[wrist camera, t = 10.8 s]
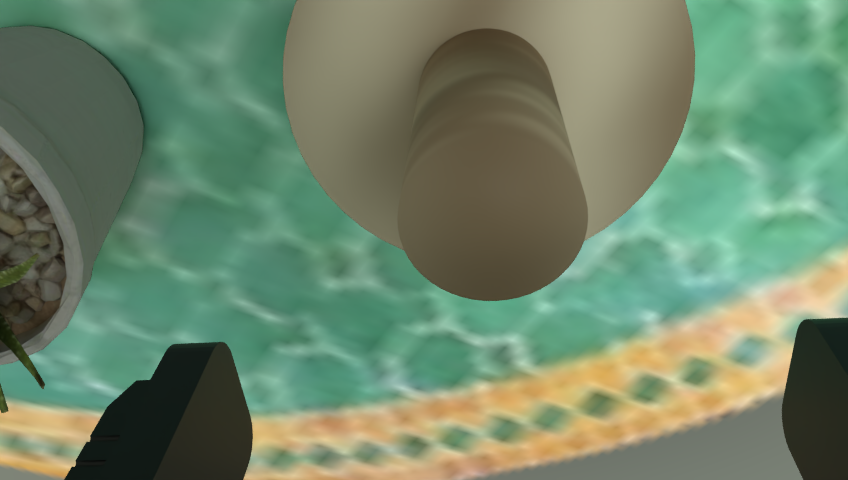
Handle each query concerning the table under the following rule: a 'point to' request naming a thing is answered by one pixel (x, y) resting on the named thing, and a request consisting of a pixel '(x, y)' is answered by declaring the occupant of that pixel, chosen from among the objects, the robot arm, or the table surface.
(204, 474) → the robot arm
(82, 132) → the potted plant
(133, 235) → the table surface
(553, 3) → the lid
